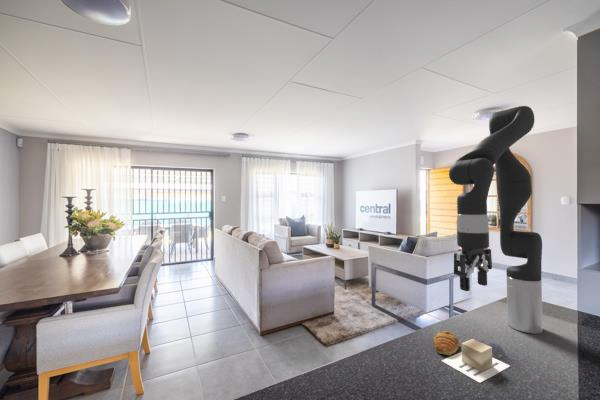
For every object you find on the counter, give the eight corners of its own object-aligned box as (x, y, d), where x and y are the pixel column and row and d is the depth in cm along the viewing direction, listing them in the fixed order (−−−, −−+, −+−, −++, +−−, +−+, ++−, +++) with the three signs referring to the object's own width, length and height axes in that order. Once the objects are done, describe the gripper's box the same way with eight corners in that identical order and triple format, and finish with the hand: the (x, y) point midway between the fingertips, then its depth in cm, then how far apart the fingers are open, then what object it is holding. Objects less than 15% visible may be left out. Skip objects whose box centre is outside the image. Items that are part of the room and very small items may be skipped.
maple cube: (492, 366, 69) (492, 347, 69) (481, 372, 67) (481, 352, 67) (472, 356, 74) (472, 338, 74) (461, 361, 71) (461, 343, 71)
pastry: (457, 360, 72) (456, 346, 72) (430, 353, 76) (429, 340, 76) (459, 345, 80) (459, 333, 80) (435, 339, 84) (435, 327, 84)
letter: (471, 347, 78) (471, 347, 78) (510, 366, 69) (510, 365, 69) (441, 360, 72) (441, 360, 72) (479, 383, 63) (479, 382, 63)
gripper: (471, 233, 67) (473, 296, 67) (501, 229, 74) (502, 286, 74) (443, 231, 74) (445, 288, 74) (473, 227, 80) (474, 279, 80)
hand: (474, 287), depth 74 cm, fingers open, 8 cm apart
